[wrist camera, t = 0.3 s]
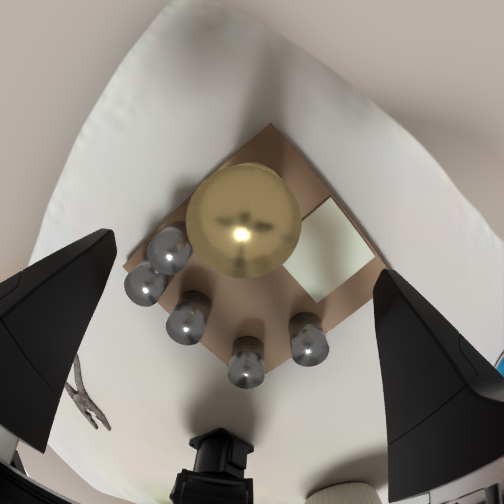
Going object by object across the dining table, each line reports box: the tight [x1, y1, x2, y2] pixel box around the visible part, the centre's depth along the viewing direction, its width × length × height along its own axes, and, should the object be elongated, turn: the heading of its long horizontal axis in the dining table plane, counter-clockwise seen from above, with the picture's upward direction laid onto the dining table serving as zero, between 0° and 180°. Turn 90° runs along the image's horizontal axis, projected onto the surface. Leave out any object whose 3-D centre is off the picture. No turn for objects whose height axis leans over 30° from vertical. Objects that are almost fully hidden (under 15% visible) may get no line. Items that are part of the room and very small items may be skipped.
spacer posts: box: [124, 221, 329, 389], centre depth 24 cm, size 9×16×4 cm, turn 42°
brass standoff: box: [186, 162, 302, 279], centre depth 17 cm, size 4×4×12 cm
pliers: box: [64, 354, 111, 431], centre depth 31 cm, size 10×1×20 cm
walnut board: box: [123, 123, 387, 374], centre depth 25 cm, size 18×17×1 cm
